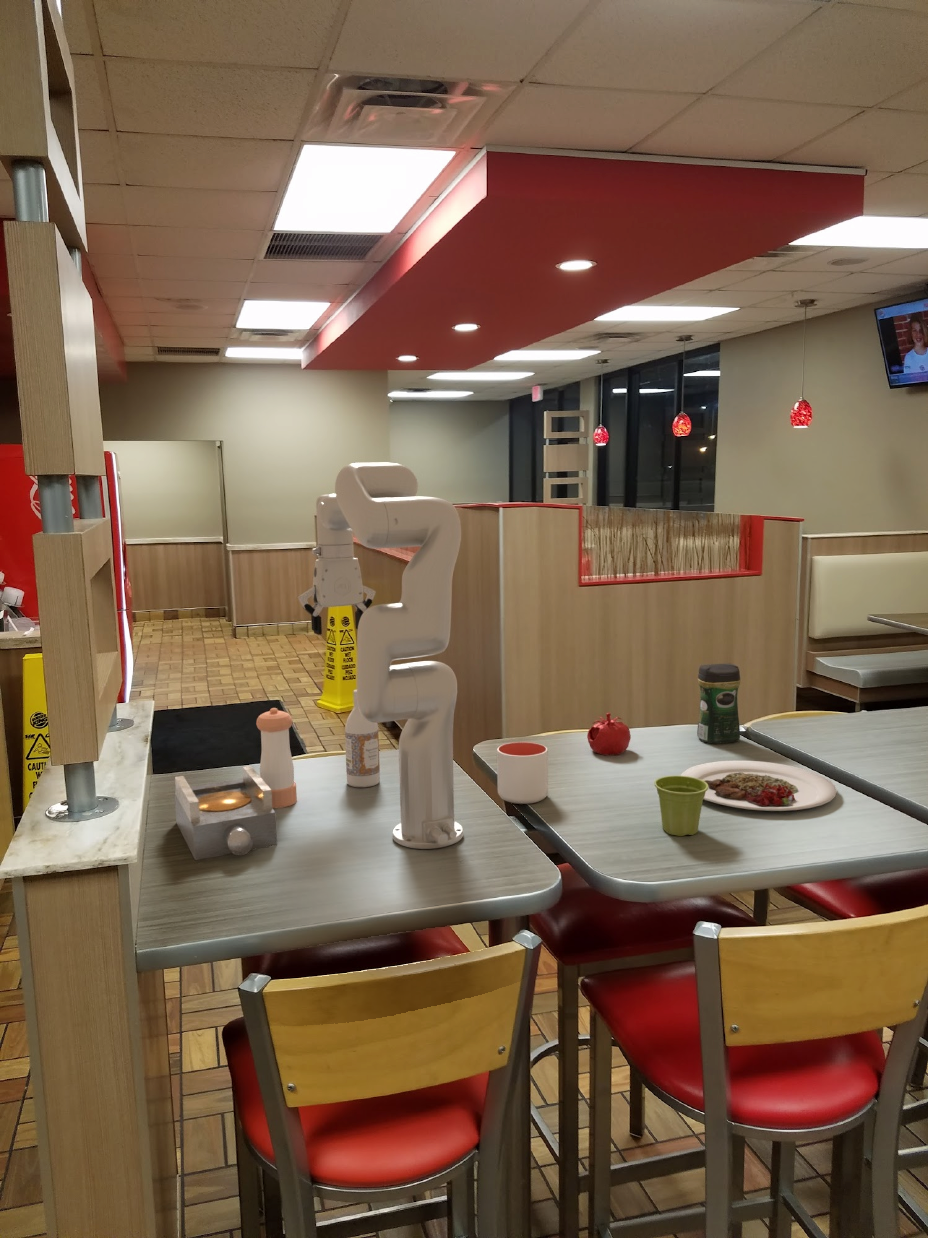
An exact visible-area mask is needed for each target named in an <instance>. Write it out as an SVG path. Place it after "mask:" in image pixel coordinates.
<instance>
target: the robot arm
mask: <svg viewBox="0 0 928 1238" xmlns="http://www.w3.org/2000/svg"><path fill="white" fill-rule="evenodd" d="M418 484H419V483H418V480H417V476H416V475H415V473H414V472H413V471H412V470H411V469H410V468H409V467H407V466H406V465H403V464H400V463H396V462H395V463H394V462H355V463H354V462H353V463H349V464H347V465H345V466H343V467H342V468H341V469H340V470H339V472H338V473H337V476H336V478H335V483H334V493H330V494H321V495H319V496H318V497H317V499H316V502H315V507H316V528H317V529H316V530H317V531H316V533H317V545H316V547H314V548H311V554H312V555H315V556H317V558H318V559H316V560H315V562H314V567H313V577H312V578H313V579H312V587H310V588H309V589H307V590H306V591H305V592H303V593H301V594H300V595H298V597H297V599H298V601H299V603H300V604H301V606H302V608H303V610H305V611H306V612H307V613H308V614H309V615H310V618H311V620H310V621H311V622H310V623H311V630H312V631H313V633H314V635H318V636H321V635H322V634H323V629H322V627H323V626H322V625H323V624H322V617H321V615H320V614H321V612H322V610H323V609H324V608H333V607H334V608H335V607H346V606H354V607H355V608H356V610H355V611H354V620H355V621H354V623H355V629H356V630H357V631H356V632H357V633H356V635H357V636H356V689H357V701H358V707H359V710H360V713H361V715H362V716H363V717H364V718H365V719H366V720H367V721H370V722H374V723H377V724H378V723H388V722H396V721H401V720H407V721H406V723H405V725H404V726H403V728H402V731H401V733H400V736H399V738H398V739H399V740H398V768H399V769H398V771H399V772H398V773H399V800H400V801H399V802H400V823H399V824H397V825H395V827H394V828H393V829H392V839H393V840H394V842H395V843H397V844H398V845H400V846H403V847H406V848H411V849H417V850H418V849H419V850H428V849H429V850H431V849H433V850H434V849H440V848H445V847H449V846H451V845H454V844H456V843H458V842H460V841H461V840H462V838H463V837H464V828H463V826H462V825H461V824H460V823H459V822H457V821H455V789H454V787H455V786H454V785H455V783H454V743H453V742H454V741H453V740H454V738H453V737H454V734H453V733H454V716H455V715H454V713H455V709H456V704H457V703H456V702H457V698H458V697H457V696H458V695H457V694H458V680H457V676H456V674H455V672H454V671H453V668H451V667H450V665H448V664H446V663H444V662H441V661H438V660H437V661H435V660H423V661H414V662H413V661H412V662H405V663H399V664H392V662H393V661H398V660H405V659H407V660H408V659H413V658H415V659H416V658H423V657H424V658H425V657H430V656H435V655H438V654H441V653H443V652H445V650H446V649H447V648H448V645H449V643H450V638H451V637H450V636H451V625H452V621H451V620H452V598H453V597H452V596H453V595H452V593H453V592H452V591H453V589H452V588H453V578H454V577H453V574H454V571H455V566H456V563H457V559H458V555H459V551H460V547H461V542H462V524H461V518H460V516H459V515H460V514H459V512H458V510H457V509H456V507H455V505H454V504H453V503H451V502H450V501H448V500H446V499H444V498H440V497H433V496H416V495H417V493H418V491H419V490H418V489H419V485H418ZM354 537H355V539H357V541H358V542H359V543H360V544H361V545H362V546H363V547H365V548H368V549H373V550H377V549H380V550H381V549H395V548H396V549H398V548H411V547H413V548H414V547H420V548H419V549H418V550H417V551H416V552H415V553H414V555H413V556H412V557H411V558H410V560H409V561H408V563H407V565H406V567H405V569H404V570H403V572H402V577H401V598H400V600H399V602H395V603H394V602H393V603H381V604H376V605H373V606H371V605H372V604H373V600H374V598H375V596H376V594H377V593H376V592H377V591H376V590H374V589H372V588H370V587H368V586H366V585H364V584H363V579H362V572H361V566H360V563H359V559H358V557H355V554H354V553H355V550H354ZM364 593H365V594H366V596H365V597H366V598H365V599H364ZM311 597H312V601H313V603H314V604H313V605H312V606H311V604H310V603H309V601H308V599H310V598H311Z"/></svg>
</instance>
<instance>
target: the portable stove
mask: <svg viewBox="0 0 928 1238" xmlns="http://www.w3.org/2000/svg"><path fill="white" fill-rule="evenodd" d="M174 782H175V784H174V785H175V786H174V787H175V791H174V805H175V807H174V808H175V819H176V820H175V821H176V825H177V827H178V829H179V831H180V832H181V835H182V837H183V839H184V841H185V842H186V845H187V847H188V849H189V851H190V853H191V854H192V857H193V859H194V860H195V861H200V860H205V859H210V858H216V857H221V856H226V855H231V854H233V855H235V856H243V855H246V854H248V853H249V852H250V851H253V850H257V849H264V848H269V847H274V846H277V845H278V840H277V821H276V820H277V819H276V811H275V810H274V808H272V791H271V789H270V788H269V786H268V785H267V784H266V783H265V782H264V781H263V779H262V778H261V777H260V774H258V773H257V771H256V770H255V769H254V768H253V767H252V766H251V765H246V766H242V778H239V779H231V780H226V781H219V782H212V783H207V784H206V783H205V784H200V785H199V784H198V785H190V784H189V783H188V781H187V780H186V777H185V776H184V775H179V776H175V777H174Z"/></svg>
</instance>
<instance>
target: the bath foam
mask: <svg viewBox="0 0 928 1238" xmlns="http://www.w3.org/2000/svg"><path fill="white" fill-rule="evenodd" d="M352 693H353V694H352V695H353V696H352V697H353V707H352V709H351V712H350V713H349V715H348V717H347V718H346V722H345V726H344V727H345V728H344V737H345V738H344V742H345V743H344V744H345V745H344V746H345V763H346V764H345V765H346V766H345V767H346V771H345V772H346V782H347V784H348V786H350V787H353V788H370V787H374V786H375V785H379V783H380V781H381V773H380V771H381V770H380V765H381V764H380V739H379V724H378V723H374V722H370V721H367V720H366V719H365V718H364V717H363V716H362V715H361V713H360V710H359V707H358V701H357V688H356V689H354V690H353V691H352Z"/></svg>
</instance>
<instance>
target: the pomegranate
mask: <svg viewBox="0 0 928 1238" xmlns="http://www.w3.org/2000/svg"><path fill="white" fill-rule="evenodd" d="M605 716H606V719H604V717H602V716H598V719H601V720H595V721H593V722H592V724H594V725H592V726H591V727H590V728H589V729H588V731H587V736H586V737H587V742H588V744H589V746H590V749H591V750H592V751H593V752H594V753H596V754H600V755H604V756H617V755H621V754H623V753H624V752H625V751H626V750H627V749H628V747H629V745H630V743H631V738H632V737H631V730H630V728H629V726H628V725H627V724H626V723H625V722H623V721H617V720H618V719H619V720H622V718H621V717H619V716H617V717H615V718H613V719H612V714H611V712H607V713H605Z"/></svg>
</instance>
